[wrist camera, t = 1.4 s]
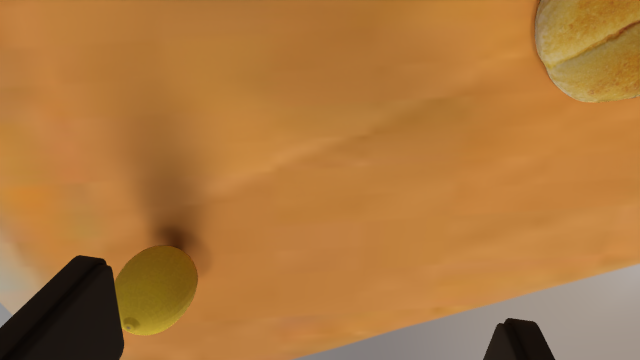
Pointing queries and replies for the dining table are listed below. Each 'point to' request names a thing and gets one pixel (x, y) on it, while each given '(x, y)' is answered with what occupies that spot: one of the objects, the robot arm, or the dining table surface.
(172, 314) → the lemon
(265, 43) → the dining table surface
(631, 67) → the bread roll
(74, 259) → the robot arm
